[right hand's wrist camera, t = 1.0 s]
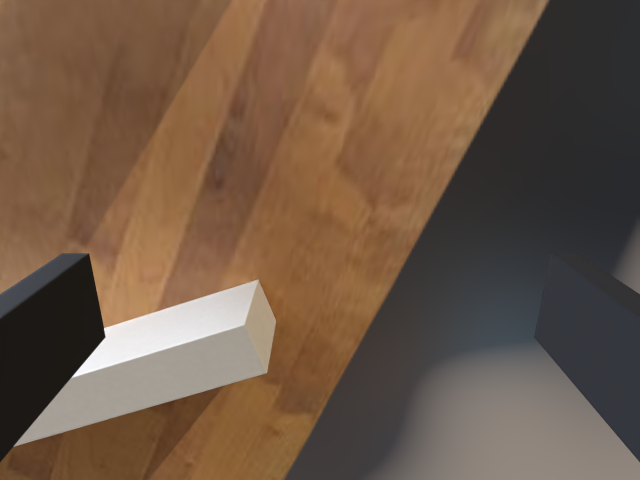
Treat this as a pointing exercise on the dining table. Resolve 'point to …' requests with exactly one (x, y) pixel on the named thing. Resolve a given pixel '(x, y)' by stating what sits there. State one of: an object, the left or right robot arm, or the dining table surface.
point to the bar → (165, 359)
